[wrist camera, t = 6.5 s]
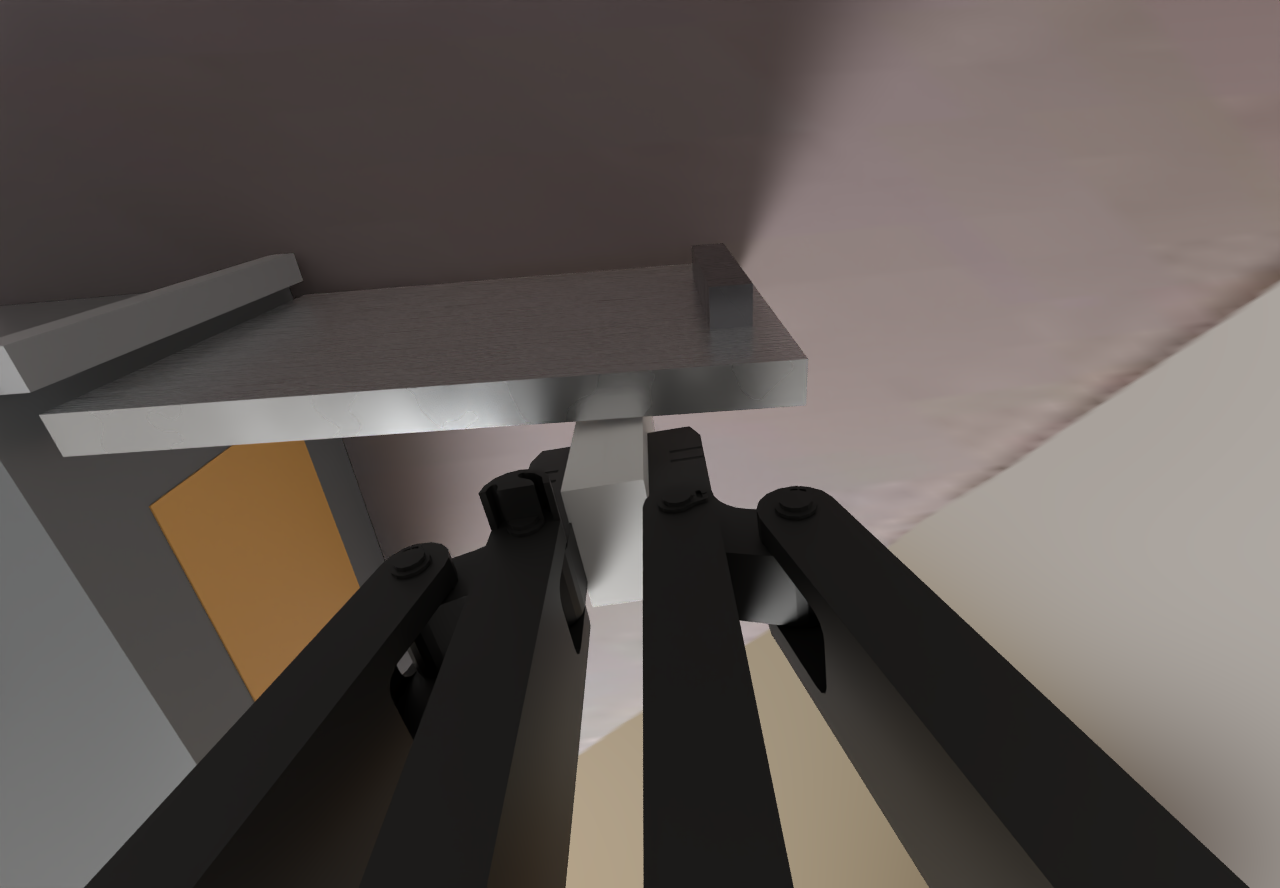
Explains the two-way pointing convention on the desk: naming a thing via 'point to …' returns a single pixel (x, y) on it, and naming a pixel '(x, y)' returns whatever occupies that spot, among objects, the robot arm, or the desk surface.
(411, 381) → the side door
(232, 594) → the grey cabinet with knob
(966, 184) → the desk surface
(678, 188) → the desk surface
